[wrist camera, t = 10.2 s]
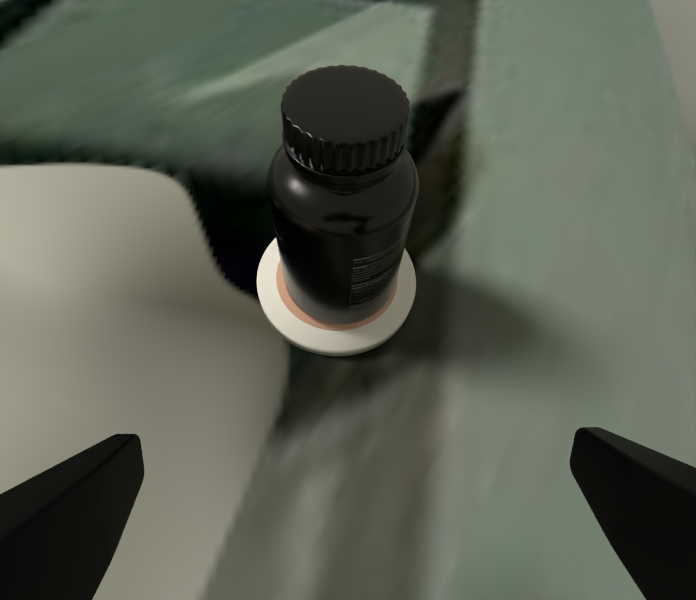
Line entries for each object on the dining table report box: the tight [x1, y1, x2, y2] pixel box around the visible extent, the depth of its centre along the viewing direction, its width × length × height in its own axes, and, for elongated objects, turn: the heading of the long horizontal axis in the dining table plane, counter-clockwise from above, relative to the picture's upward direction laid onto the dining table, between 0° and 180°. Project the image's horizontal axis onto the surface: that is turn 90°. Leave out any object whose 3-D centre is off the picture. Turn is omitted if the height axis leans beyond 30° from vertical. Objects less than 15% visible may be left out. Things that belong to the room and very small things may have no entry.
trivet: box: [257, 238, 416, 356], centre depth 26 cm, size 10×10×1 cm
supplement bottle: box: [267, 65, 419, 324], centre depth 20 cm, size 7×7×12 cm
